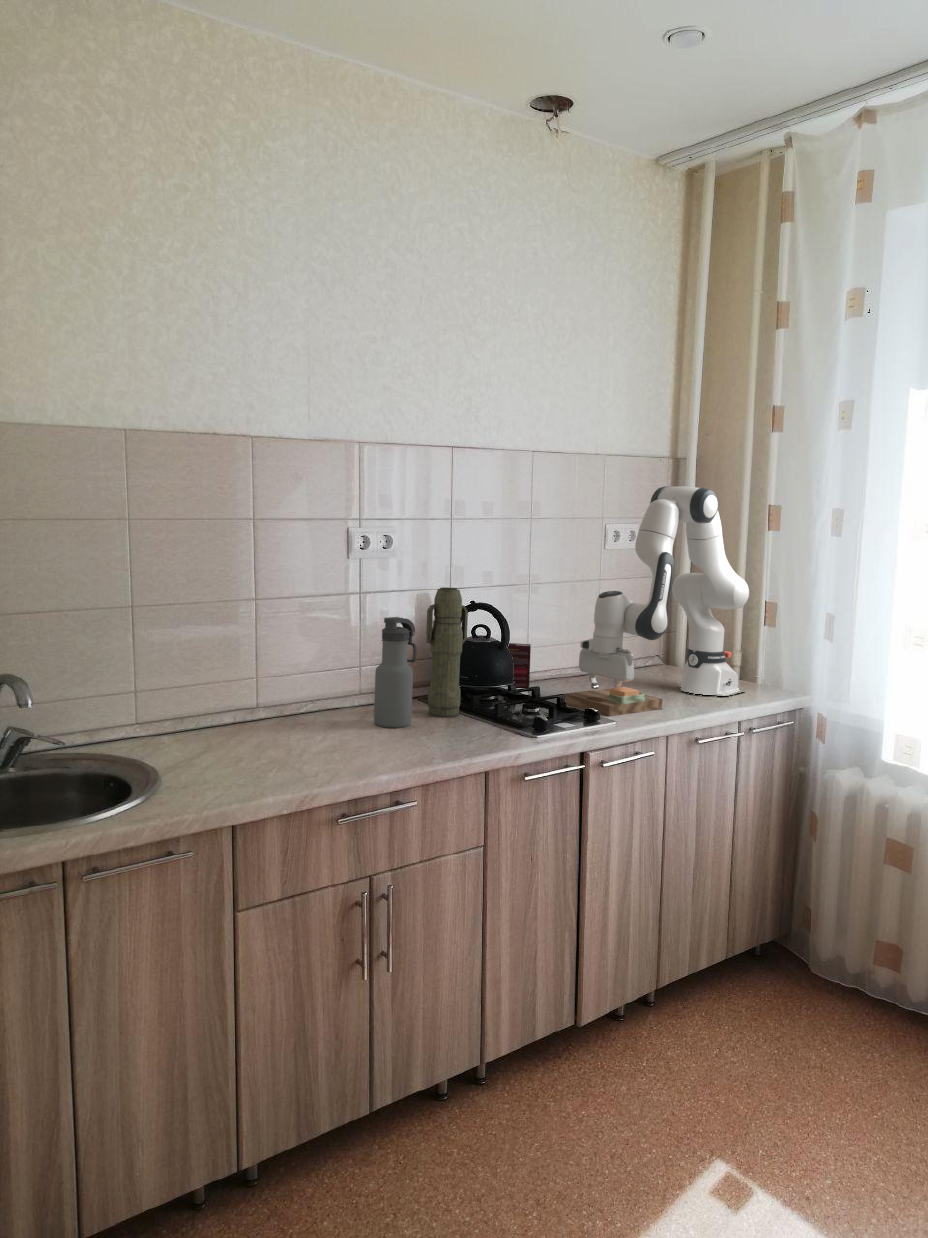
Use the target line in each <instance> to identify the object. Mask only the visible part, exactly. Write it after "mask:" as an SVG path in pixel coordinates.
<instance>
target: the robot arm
mask: <svg viewBox="0 0 928 1238" xmlns="http://www.w3.org/2000/svg"><path fill="white" fill-rule="evenodd" d="M719 506H720V505H719V499H718V496H717V494H716V493H715V492H714V491H713V490H711V489H708V488H705V487H697V486H696V487H695V486H690V485H689V486H688V485H683V486H681V485H680V486H678V485H676V486H671V485H666V486H660V487H658V488H657V489H655V491H654V492H653V494H652V496H651V497H650V503H649V505H648V507H647V509H646V511H645V513H644V515H643V518H642V520H641V523H640V525H639V529H638V532H637V536H636V538H635V539H636V540H635V545H634V547H635V548H634V549H635V552H636V555H637V557H638V558H639V559H640V561H641V562H642V563H644V564H645V565H646V566H647V567H648V568H649V569H650V571H651V576H652V578H651V579H652V580H651V585H650V592H649V597H648V601H647V603H646V604H645V603H640V602H635V600H632V599H629V597H626V596H625V594H624V592H622V591H619V590H608V591H604V592H601V593H600V594H598V596H597V598H596V601H595V606H594V614H593V617H594V618H593V623H594V630H593V635H592V638H590V639H586V640H581V642H580V643H579V644H580V648H581V649H580V652H579V654H578V655H579V659H578V669H579V670H580V671H581V672H583V673H587V674H588V680H589V681H590V688H591V689H593V690H599V682H598V681H597V679H596V677H597V676H599V677H603V678H607V679H612V680H613V681H614V682H613V683H614V685H613V688H619V687H622V685H623V683H624V682H626V683H627V682H632V681H633V680H634V678H635V665H634V655H633V653H632V652H631V651H630V649H624V648H623V642H624V641H623V640H624V633H625V634H628V635H629V634H630V635H632V636H636V637H641V638H643V639H646V640H648V641H655V640H658V639H660V638H661V637H663V636H664V634H665V633H666V632H667V630H668V628H669V622H670V620H669V619H670V612H669V610H670V608H669V607H670V602H671V601H670V600H671V595H673V598H674V599H675V601H676V602H677V603H678V604H679V605H680V606H681V607H682V609H683V611H684V612H685V615H686V619H687V621H688V647H687V648H686V654H685V655H686V658H685V659H686V660H687V661H686V663H684V668H683V673H682V674H683V675H682V678H681V683H679V686H681V688H680V689H681V690H683V691H685V692H689V693H694V694H693V695H695V694H703V695H723V696H725V695H729V694H732V693H735V692H738V691H740V690H739V688H738V687H739V675H738V673H737V672H736V671H735V669H733V668H732V667H731V666H730V665H729V664H728V663H727V660H726V659H728V658H729V659H730V658H731V657H732V652H731V651H726V650H724V643H725V642H724V641H725V627H724V625H723V624H722V623H721V622H720V621H719V620H718V619H716V618H715V616H713V613H712V609H718V610H719V609H720V610H736V609H742V608H743V607H744V606H745V605H746V604H747V603H748V601H749V597H750V589H749V585H748V583H747V582H746V580H745V579H744V578H742V577H741V576H740V575H739V574H737V573H736V572H735V571H734V569H733V567H732V566H731V564H730V562H729V560H728V558H727V556H726V552H725V545H724V537H723V527H722V521H721V518H720V517H721V516H720V513H719ZM679 523H685V533H686V535H685V536H686V543H687V544H686V545H687V552H688V553H687V554H688V558H689V560H690V562H691V563H692V564H693V565H694V566H696V567H697V568H698V569H700V571H702V572H688V573H680V574H678V576H676V578H675V579H674V575H675V570H676V569H675V567H676V566H675V565H676V564H675V558H674V557H673V550H674V549H673V548H674V543H675V539H676V536H677V532H678V525H679ZM681 690H680V691H681ZM685 692H684V693H685ZM689 693H688V694H689Z"/></svg>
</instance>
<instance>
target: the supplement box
mask: <svg viewBox="0 0 928 1238" xmlns="http://www.w3.org/2000/svg"><path fill="white" fill-rule="evenodd" d="M508 643H509V646H508V649H509V651H510V653H511V655H512V657H513V663H514V681H515V686H516V688H529V689H530V677H531V676H530V675H531V672H530V671H531V651H532V650H531V647H532V646H531V643H514V642H512V643H511V642H508Z"/></svg>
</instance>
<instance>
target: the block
mask: <svg viewBox="0 0 928 1238" xmlns="http://www.w3.org/2000/svg"><path fill="white" fill-rule="evenodd" d="M639 692H640V690H639V689H634V688H632V687H631V688H630V687H626V686H621V687H619V688H614V687H610V694H613V695H617V696H621V697H624V696H632V695H639Z"/></svg>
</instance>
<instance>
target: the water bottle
mask: <svg viewBox="0 0 928 1238" xmlns="http://www.w3.org/2000/svg"><path fill="white" fill-rule="evenodd" d="M383 620H384V621H383V623H384V624H385V625H384V628H382V630H381V642H382V650H381V651H382V654H381V663H380V664H378V666H376V668H375V673H374V674H375V679H374V707H373V708H374V709H373V710H374V711H373V722H374V724H375V725H377V726H378V727H382V728H388V729H401V728H407V727H408V726H410V725H411V724H412V717H413V716H412V713H413V683H414V671H413V668H412V667H411V666H410V665H409V664H408V663H413V664H414V663H416V662H417V656H418V655H417V649H418V647H417V644H416V643H415V642H413V637H415V635H416V628H415V624H414V623H413V621H412V620H410V619H408V618H404V617H398V616H392V617H391V616H389V617H384V618H383ZM397 624H401V626H398V625H397ZM408 646H412V649H413V654H412V659H408V652H409V651H408V649H409V647H408Z"/></svg>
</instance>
